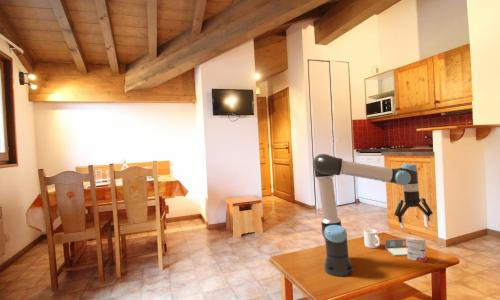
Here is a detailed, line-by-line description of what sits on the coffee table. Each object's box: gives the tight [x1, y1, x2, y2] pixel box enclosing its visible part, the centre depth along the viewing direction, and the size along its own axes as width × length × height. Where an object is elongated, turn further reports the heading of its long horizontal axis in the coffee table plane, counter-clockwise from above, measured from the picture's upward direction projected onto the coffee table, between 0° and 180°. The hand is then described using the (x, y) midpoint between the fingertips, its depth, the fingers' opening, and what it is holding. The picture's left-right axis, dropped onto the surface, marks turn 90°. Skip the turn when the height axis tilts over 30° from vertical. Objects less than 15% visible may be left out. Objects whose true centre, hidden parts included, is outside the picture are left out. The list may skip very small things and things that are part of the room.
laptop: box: [384, 238, 408, 257], centre depth 163 cm, size 16×12×6 cm
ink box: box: [405, 236, 428, 263], centre depth 151 cm, size 8×5×12 cm, turn 39°
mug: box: [363, 228, 381, 249], centre depth 174 cm, size 12×8×10 cm
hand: (414, 227), depth 151 cm, fingers open, 13 cm apart
